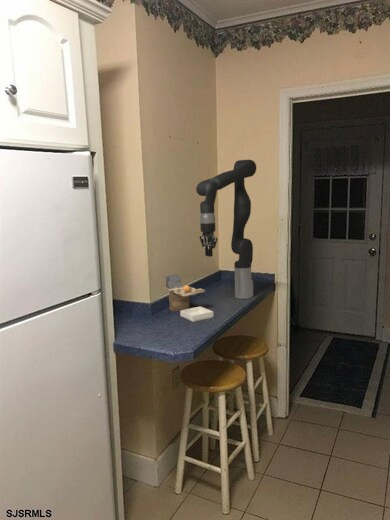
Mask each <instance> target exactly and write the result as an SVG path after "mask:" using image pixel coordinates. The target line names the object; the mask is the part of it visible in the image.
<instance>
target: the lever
mask: <svg viewBox="0 0 390 520" xmlns="http://www.w3.org/2000/svg"><path fill="white" fill-rule="evenodd" d="M165 278H166V289H165V290H166V291H168V292H169V290H172V291H173V293H176V294H179V295H181V296H189V297H190V296H194V295H197V294H199V293H205V292H206V289H204V288H197V289H196V288H195V287H192V286H189V287H190V291H189V292H185V291H184V290H183V287H184V286H182V276H181V275H179V274H175V273H174V274H169V275H164V279H165Z"/></svg>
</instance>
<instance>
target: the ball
mask: <svg viewBox="0 0 390 520" xmlns="http://www.w3.org/2000/svg"><path fill="white" fill-rule="evenodd" d="M182 287H183V290H184V291H185V292H189V291H190V287H191V286H189V285H187V284H185V285H184V286H182Z"/></svg>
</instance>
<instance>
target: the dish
mask: <svg viewBox="0 0 390 520" xmlns="http://www.w3.org/2000/svg"><path fill="white" fill-rule="evenodd" d="M179 312H180V317H182V318H183V319H185V320H187V321H190V322H192V323H194V322H200V321H203V320H209V319H211V318H214V311H213V310H211V309H208V308H206V307H203V306H197V307H190V308H188V309H183V310H179Z"/></svg>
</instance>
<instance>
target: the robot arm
mask: <svg viewBox="0 0 390 520" xmlns="http://www.w3.org/2000/svg"><path fill="white" fill-rule="evenodd" d="M256 172H257V163H256V162H255V161H254V160H252V159H239V160H236V161H235V163H234V165H233V169H231V170H227V171H224V172H221V173H220V174H217V175H215V176H213V177H211V178H208V179H205V180H202V181H200V182H199V183H197V185H196V189H195V191H196V193H197V195H198V196H201V197H205V199H204V200H203V201H201V202H200V204H199V206H200V208H199V210H200V211H199V213H200V215H199V223H200V225H199V227H200V232H201V233H202V234H201V236H199V241H200V243H201V246H202V248H204V251H205V252H204V253H205V254H204V255H205V257H209V258H210V257H213V250H214V249H215V248H216V245H217V243H218V237H215V234H214V233H215V232H216V216H215V215H216V214H215V203H216V197H217V193H218V191H220V190H222V189H224V188H226V187H228V186H230V185H232V184H233V185H234V187H233V189H234V194H233V195H234V201H233V225H232V226H233V227H232V235H231V242H230V243H231V244H230V245H231V246H230V248H231V251H232V253H234V254H236V255H238V260H235V262H234V265H233V266H234V296H235V298H236V299H239V300H246V299H251V298H252V297H254V281H253V279H252V262H253V260H254V258H253V256H254V255H253V254H254V247H253V242H252V241H251V240H250V239H249V238H244V237H245V236H244V235H245V228H246V225H247V224H248V222H249V219H250V217H251V213H252V211H251V210H252V201H251V198H250V196H249V193H248V192H247V190H246V186H245V178H246V179H247V178H251V177H253V176H254V175H255V174H256Z"/></svg>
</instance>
